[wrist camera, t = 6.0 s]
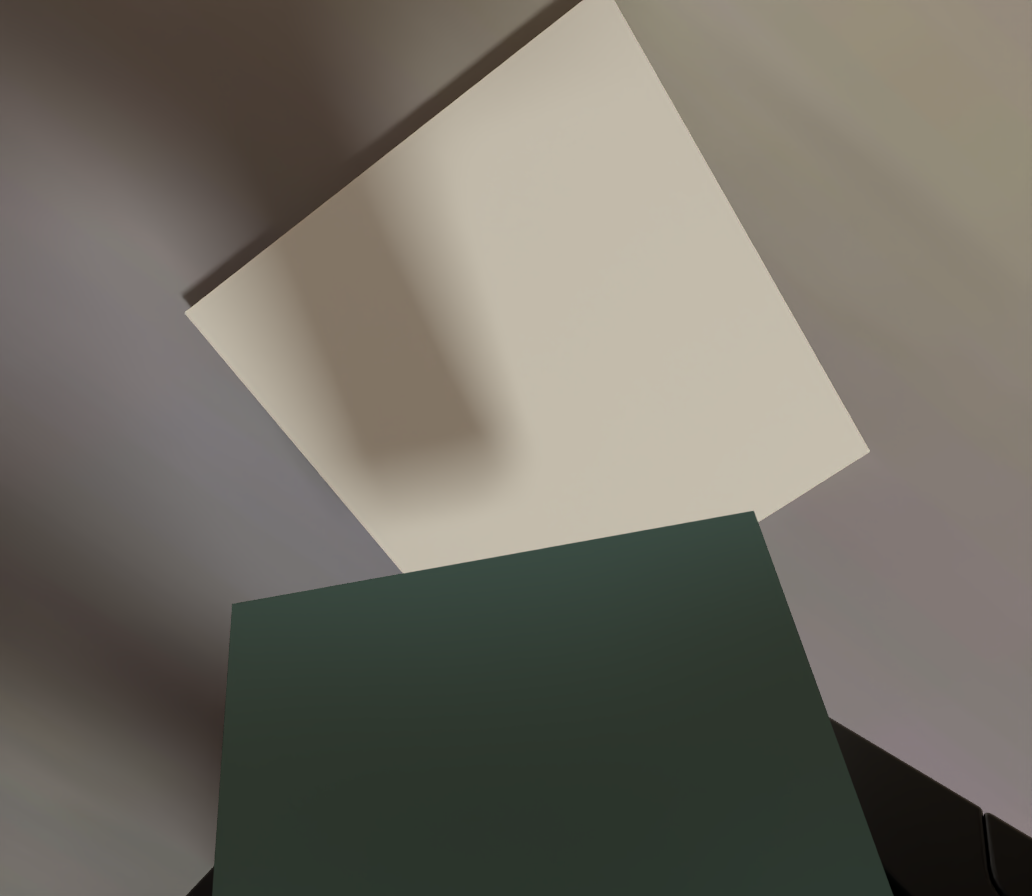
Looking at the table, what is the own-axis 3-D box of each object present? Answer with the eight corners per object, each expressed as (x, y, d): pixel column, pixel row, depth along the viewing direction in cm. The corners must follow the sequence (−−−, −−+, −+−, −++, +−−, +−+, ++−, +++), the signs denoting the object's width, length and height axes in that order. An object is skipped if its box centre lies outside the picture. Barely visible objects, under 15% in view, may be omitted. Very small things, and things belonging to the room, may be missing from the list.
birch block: (695, 917, 12) (1052, 1332, 3) (493, 950, 13) (172, 1466, 3) (644, 700, 14) (753, 509, 5) (470, 731, 14) (231, 604, 5)
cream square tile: (497, 675, 22) (498, 686, 21) (193, 311, 18) (184, 312, 18) (859, 446, 20) (870, 451, 20) (600, -7, 17) (604, -17, 16)
